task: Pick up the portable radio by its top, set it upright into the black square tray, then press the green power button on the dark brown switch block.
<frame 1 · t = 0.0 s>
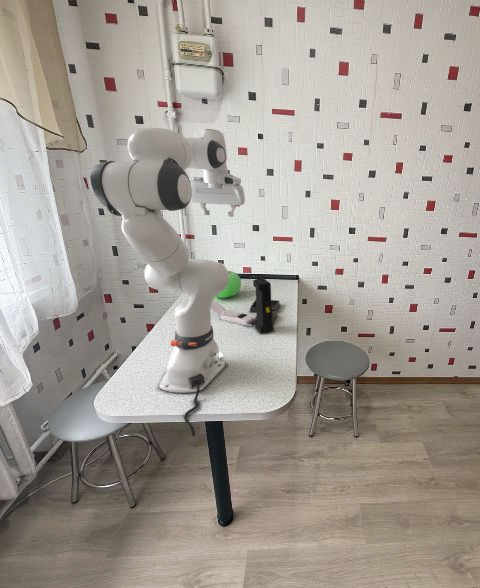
hand: (219, 215, 128), 48 cm above the table, tool pointing down, fingers open, 8 cm apart
pale pink bent bar: (232, 319, 152), on the table
green egg-shaped ball: (224, 296, 177), on the table
portable radio: (264, 330, 144), on the table
black square tray: (265, 308, 164), on the table
power button: (265, 310, 152), point 4 cm above the table, slide at 0.1 cm
switch block: (265, 319, 153), on the table
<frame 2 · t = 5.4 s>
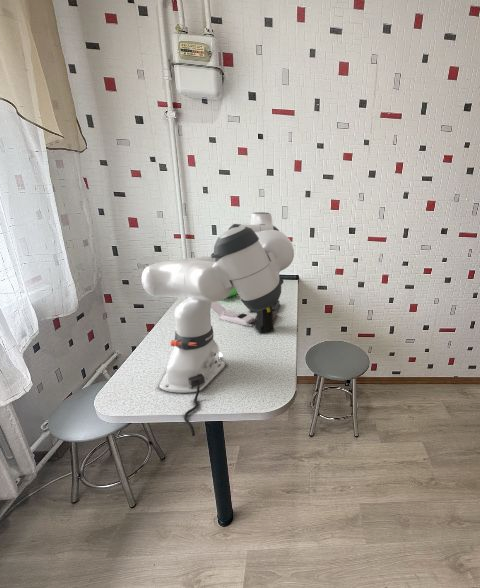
hand: (263, 285, 136), 21 cm above the table, tool pointing down, fingers closed on portable radio, 6 cm apart
portable radio: (264, 330, 144), on the table, touching gripper
everything else where it was.
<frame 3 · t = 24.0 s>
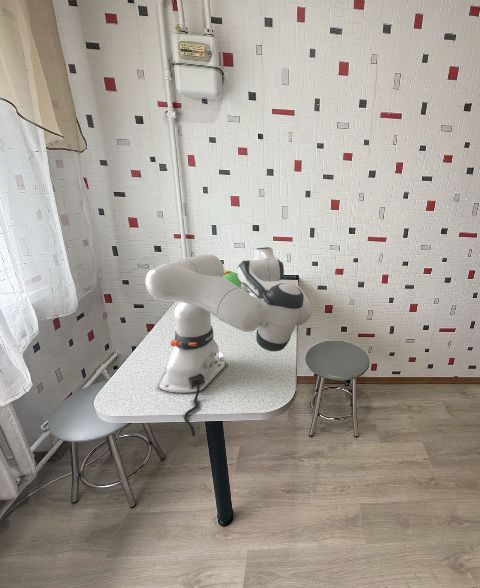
hand: (267, 311, 151), 4 cm above the table, tool pointing down, fingers closed, pressing on power button
portable radio: (265, 308, 164), resting on black square tray
power button: (265, 312, 152), point 4 cm above the table, slide at -0.8 cm, touching gripper
everything else where it was.
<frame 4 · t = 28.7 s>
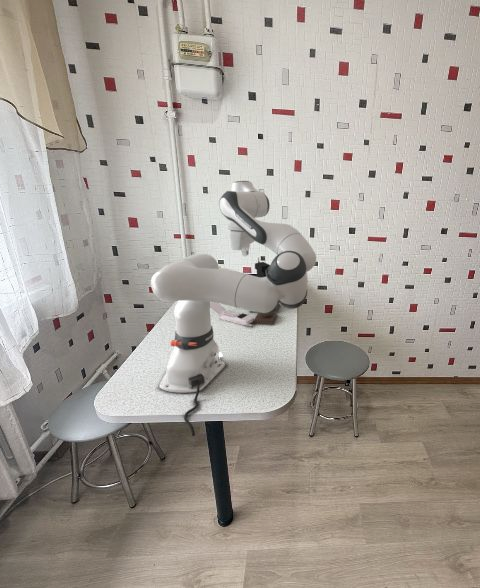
hand: (245, 255, 139), 31 cm above the table, tool pointing down, fingers closed
power button: (265, 310, 152), point 4 cm above the table, slide at 0.1 cm
everything else where it was.
at the end: portable radio 0.2 cm off-centre in the black square tray, point 0.4 cm above the black square tray's base; portable radio tilted 0°; power button pushed in 1.2 cm at the most during the clip, back to where it started at the end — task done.
